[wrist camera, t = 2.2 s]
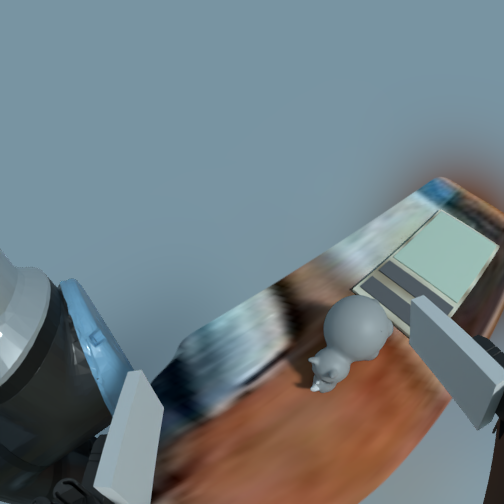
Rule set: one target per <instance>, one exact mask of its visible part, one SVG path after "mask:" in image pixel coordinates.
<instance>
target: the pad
mask: <svg viewBox="0 0 504 504" xmlns="http://www.w3.org/2000/svg"><path fill="white" fill-rule="evenodd" d="M496 246H497V245H495V244H494V243H492V242H491V241H489V240H488V239H486V238H485V237H483V236H482V235H480V234H479V233H477V232H476V231H474V230H472V229H471V228H469V227H468V226H466V225H464V224H463V223H461V222H459V221H458V220H456V219H454V218H453V217H451V216H449V215H448V214H446V213H444V212H443V211H441V212H440V213H439V214H438V215H437V216H436V217H435V218H434V219H433V220H432V221H431V222H430V223H429V224H428V225H427V226H426V227H425V228H424V229H423V230H422V231H421V232H420V233H418V234H417V235H416V236H415V237H414V238H413V239H412V240H411V241H410V242H409V243H408V244H407V245H406V246H405V247H404V248H403V249H401V250H400V251H399V252H398V253H397V254H396V255H395V256H394V257H393V258H395V259H396V260H398V261H399V262H400V263H402V264H403V265H405V266H406V267H408V268H409V269H410V270H412V271H413V272H415V273H416V274H417V275H419V276H420V277H422V278H423V279H424V280H426V281H427V282H429V283H430V284H431V285H433V286H434V287H435V288H437V289H438V290H439V291H441V292H442V293H443V294H445V295H446V296H448V297H449V298H450V299H451V300H453V301H454V302H455V303H458V301H459V300H460V299H461V297H462V296H463V295H464V293H465V292H466V291H467V289H468V288H469V287H470V285H471V284H472V282H473V281H474V279H475V278H476V277H477V275H478V274H479V272H480V271H481V269H482V268H483V266H484V265H485V263H486V262H487V260H488V259H489V257H490V256H491V254H492V253H493V251H494V249H495V248H496Z"/></svg>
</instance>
